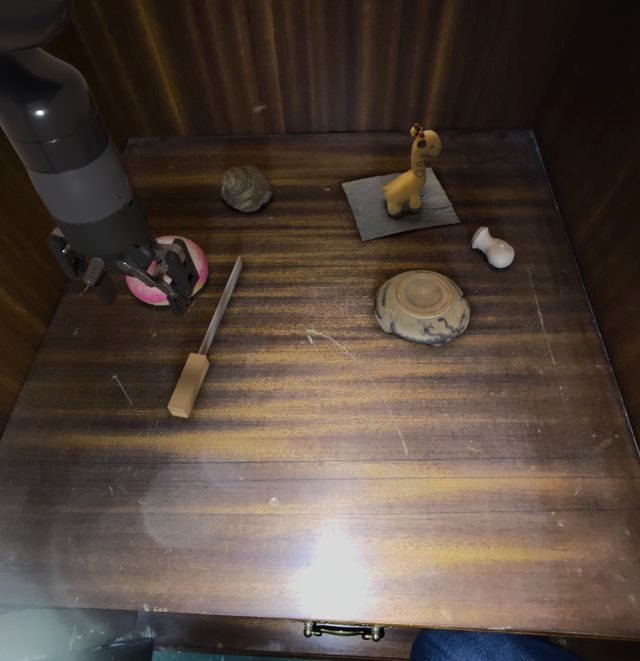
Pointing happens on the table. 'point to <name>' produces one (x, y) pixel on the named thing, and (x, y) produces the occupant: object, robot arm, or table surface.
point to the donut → (154, 293)
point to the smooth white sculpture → (493, 248)
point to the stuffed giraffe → (402, 195)
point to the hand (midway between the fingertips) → (147, 305)
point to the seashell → (245, 187)
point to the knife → (200, 357)
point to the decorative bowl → (422, 307)
